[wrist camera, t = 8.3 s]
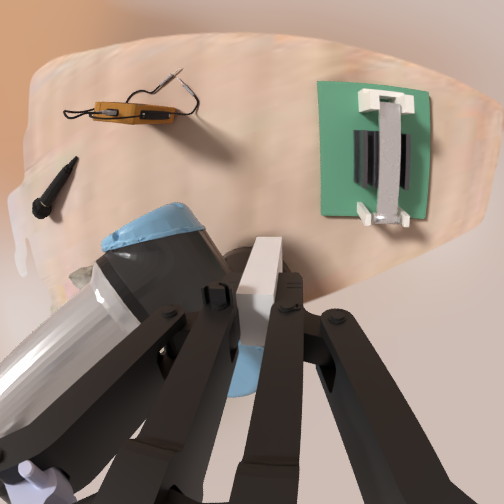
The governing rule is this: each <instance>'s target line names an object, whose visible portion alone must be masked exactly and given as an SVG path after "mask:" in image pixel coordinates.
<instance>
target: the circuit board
mask: <svg viewBox="0 0 504 504" xmlns="http://www.w3.org/2000/svg"><path fill="white" fill-rule="evenodd" d="M317 88H318V104H319V124H320V154H321V215H326V216H360V218H361V220H362V221H363V223H364V225H365V226H371V217H372V212H376V206H377V190H378V189H376V188H372V187H371V186H370V185H369V184H368V183H367V188H362V187H361V186H360V185H359V184H358V183H354V182H353V177H354V144H353V130H367V131H379V122H378V110H380V102H388V103H397V104H400V112H401V134H411V157H410V181H409V190H404V189H402V188H401V187H399V196H398V208H397V213H399V214H400V216H401V221H400V223H401V224H402V225H403V227H409V221H410V218H420V219H425V216H426V207H427V197H428V185H429V168H430V106H429V92H426V91H420V90H414V89H408V88H401V87H394V86H386V85H377V84H366V83H352V82H331V81H317Z"/></svg>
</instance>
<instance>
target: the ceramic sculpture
mask: <svg viewBox="0 0 504 504" xmlns="http://www.w3.org/2000/svg"><path fill="white" fill-rule="evenodd" d="M92 271H93V266H89V267H83V268H80V269H78V270H76V271H75V272H73V273H72V274H70V275H69V278H70V279H71V281H72V283H73V284H74V285H75V286H76V287H77V288H79V289H80V290H81V289H82V288H83V287H84V286H86V285H87V284H88V283H89V282H90V280H91V278H92Z"/></svg>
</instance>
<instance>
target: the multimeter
mask: <svg viewBox="0 0 504 504" xmlns="http://www.w3.org/2000/svg"><path fill="white" fill-rule="evenodd" d="M180 68H181V67H180ZM180 68H179V69H180ZM179 69H177V70H176V71H175V72H177V71H178V70H179ZM175 72H174V73H175ZM174 73H173V74H174ZM173 74H170V75H169V76H168V77H167V78H166V79H165V80H164V81H162V82H161V84H160V85H159V86H158V87H157V88H156V89H155V90H154V91H152V92H148V91H145V90H138V91H136V92H134V93H132V94H131V95H130V96H129V97H128V99H127V101H126V103H119V102H96V103H95V108H93V109H90V110H86V111H67V110H64V111H63V113H64V116H65V117H66V118H68V119H74V118H77V117H79V116H82V115H84V114H89V117H91V118H93V120H94V121H105V122H114V123H123V124H131V125H135V124H163V123H173V120H174V115H175V114H176V115H190V114H192V113H193V112H194V111H195V110H196V108H197V106H198V103H199V102H198V99H197V97H196V96H195V95H194V93H193V92H192V91H191V90H190V89H189V88H188V87H187V85H186V84H183V82H182V81H181V80H180V79H179V78H177V79H178V80H179V81H180V82H181V83H182V84H183V87H184V88H185V89H186V90H187V91H188V92H189V93H190V94H191V95H192V96H194V97H195V99H196V100H197V105H196V107H195V109H194V110H193V111H192V112H191V113H189V114H181V113H175V110H176V108H172V107H165V106H156V105H147V104H136V103H127V102H128V100H129V98H130V97H131V96H132V95H133V94H135V93H137V92H139V91H144V92H147V93H153V92H155V91H156V90H157V89H158V88H159V87H160V86H161V85H163V84H164V83H165V82H166V81H167V80H169V79H170V78H171V77H172V76H173ZM92 110H94V112H89V111H92ZM65 112H68V113H82V114H80V115H77V116H75V117H68V116H67V115H66V113H65ZM92 114H94V115H93V116H92Z"/></svg>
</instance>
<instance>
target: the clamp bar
mask: <svg viewBox="0 0 504 504" xmlns="http://www.w3.org/2000/svg"><path fill="white" fill-rule="evenodd" d="M378 122H379V163H378V190H377V206H376V212H372V217H371V219H372V224H397V225H399V224H400V221H401V216H400V214H399V213H397V208H398V196H399V181H400V159H401V112H400V104H397V103H388V102H380V110H378Z"/></svg>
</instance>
